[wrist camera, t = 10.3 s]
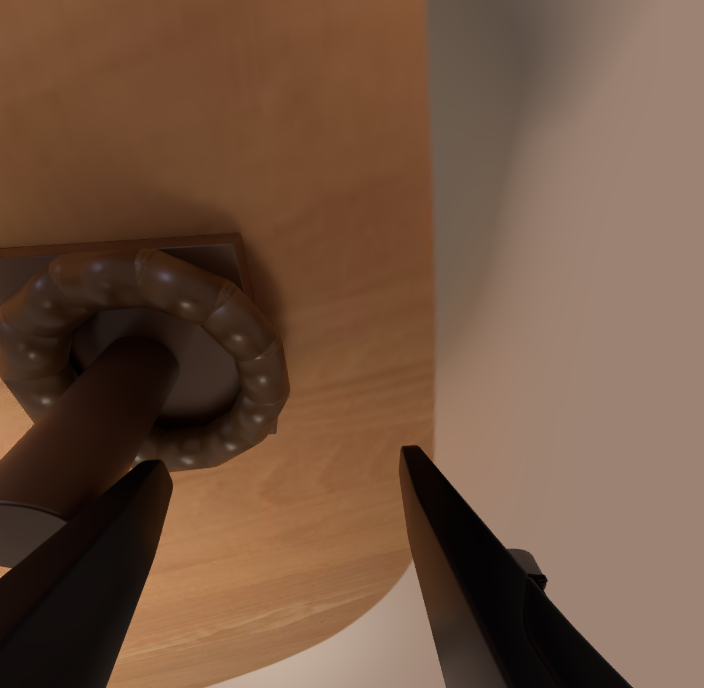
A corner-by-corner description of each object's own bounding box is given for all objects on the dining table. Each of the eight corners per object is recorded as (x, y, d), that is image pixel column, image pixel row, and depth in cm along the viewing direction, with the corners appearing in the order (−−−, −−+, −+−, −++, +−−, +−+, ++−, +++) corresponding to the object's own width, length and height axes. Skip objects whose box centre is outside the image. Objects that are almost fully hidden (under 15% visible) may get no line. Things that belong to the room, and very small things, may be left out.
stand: (240, 232, 11) (157, 355, 5) (278, 414, 15) (258, 600, 9) (-25, 249, 10) (-493, 413, 4) (91, 433, 15) (-62, 646, 9)
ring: (268, 234, 10) (261, 250, 9) (300, 435, 14) (299, 466, 13) (-41, 253, 9) (-100, 273, 8) (93, 457, 14) (69, 492, 12)
